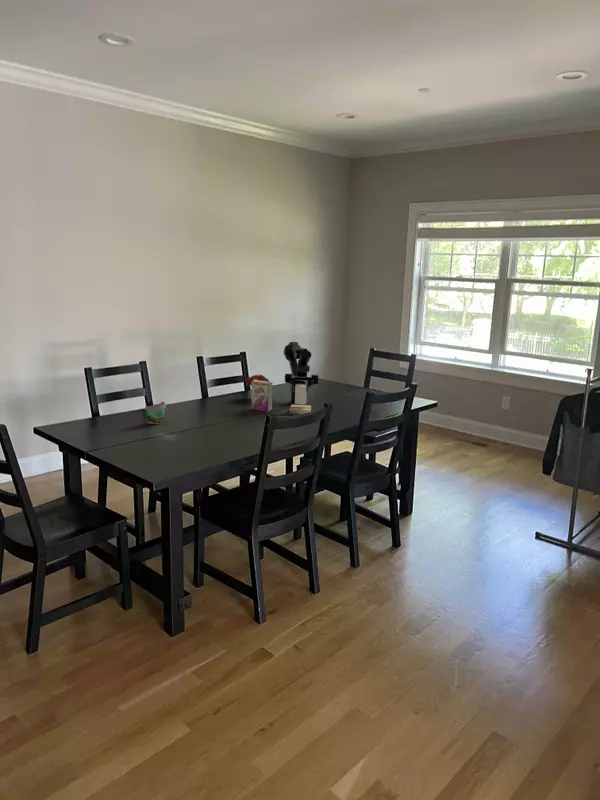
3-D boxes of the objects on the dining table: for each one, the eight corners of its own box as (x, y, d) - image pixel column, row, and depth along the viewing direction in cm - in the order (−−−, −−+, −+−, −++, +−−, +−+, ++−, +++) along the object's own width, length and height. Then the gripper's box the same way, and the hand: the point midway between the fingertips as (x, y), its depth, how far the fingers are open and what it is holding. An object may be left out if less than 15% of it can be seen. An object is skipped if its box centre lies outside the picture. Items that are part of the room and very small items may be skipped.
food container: (154, 427, 310) (153, 407, 307) (145, 425, 313) (144, 405, 311) (171, 421, 320) (171, 403, 318) (162, 419, 323) (162, 401, 321)
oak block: (291, 409, 353) (291, 404, 352) (310, 410, 352) (311, 405, 351) (289, 414, 342) (289, 409, 341) (309, 415, 341) (309, 410, 340)
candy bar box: (250, 409, 348) (250, 381, 344) (254, 407, 352) (255, 379, 348) (268, 412, 343) (268, 383, 339) (272, 410, 348) (272, 381, 344)
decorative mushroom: (259, 394, 383) (259, 370, 379) (277, 399, 372) (277, 375, 369) (239, 398, 372) (239, 374, 368) (257, 403, 361) (257, 378, 358)
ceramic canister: (294, 403, 343) (295, 386, 340) (295, 401, 348) (296, 383, 346) (305, 404, 342) (306, 386, 340) (306, 401, 348) (306, 384, 346)
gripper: (285, 359, 344) (283, 383, 336) (319, 360, 343) (317, 384, 335) (286, 370, 354) (284, 394, 346) (318, 371, 353) (317, 395, 345)
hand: (300, 391), depth 342 cm, fingers closed on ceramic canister, 6 cm apart
